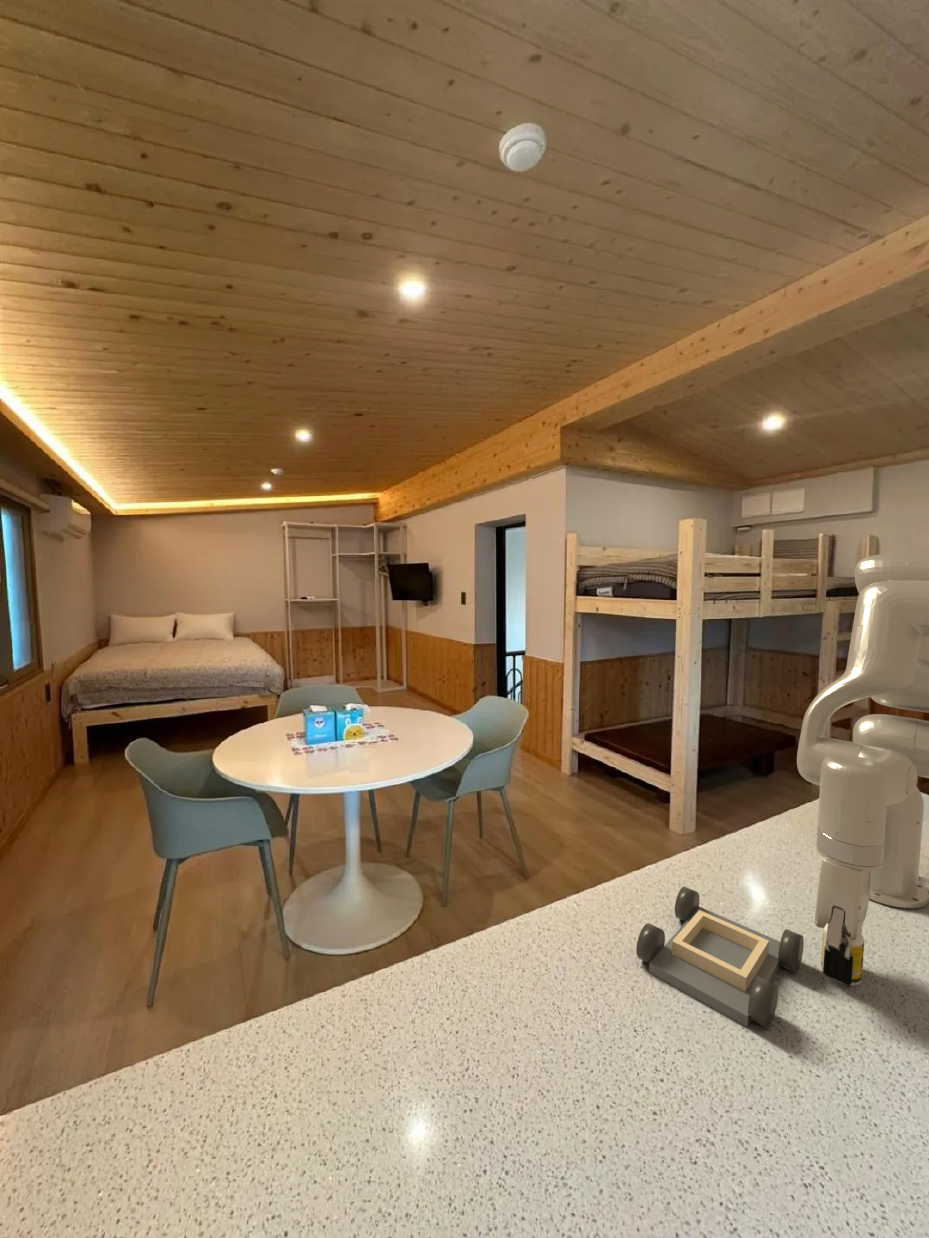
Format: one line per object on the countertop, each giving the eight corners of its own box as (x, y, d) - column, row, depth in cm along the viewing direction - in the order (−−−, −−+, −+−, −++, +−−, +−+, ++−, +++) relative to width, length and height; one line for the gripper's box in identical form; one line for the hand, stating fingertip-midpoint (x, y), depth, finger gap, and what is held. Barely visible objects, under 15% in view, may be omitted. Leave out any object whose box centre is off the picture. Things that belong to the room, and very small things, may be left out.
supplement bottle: (868, 989, 73) (872, 931, 72) (830, 984, 74) (834, 927, 73) (851, 963, 78) (854, 909, 77) (815, 959, 78) (818, 905, 78)
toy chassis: (686, 909, 90) (687, 881, 90) (802, 961, 78) (804, 929, 78) (635, 965, 77) (636, 932, 77) (764, 1037, 65) (766, 999, 65)
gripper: (830, 817, 83) (823, 927, 84) (802, 859, 71) (795, 986, 72) (892, 833, 77) (883, 951, 79) (872, 882, 65) (863, 1019, 67)
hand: (841, 967), depth 76 cm, fingers closed on supplement bottle, 4 cm apart
